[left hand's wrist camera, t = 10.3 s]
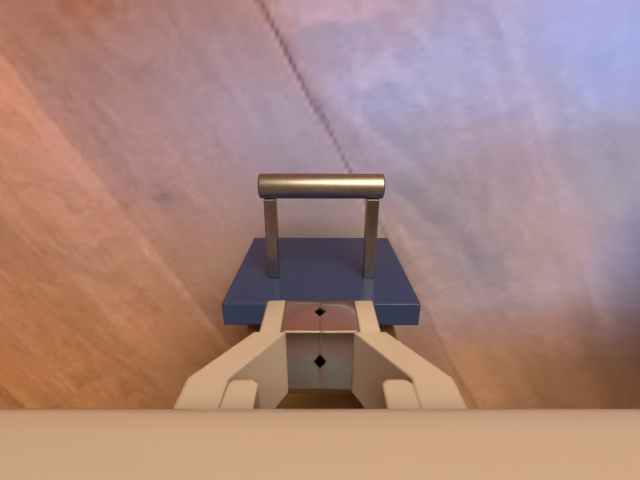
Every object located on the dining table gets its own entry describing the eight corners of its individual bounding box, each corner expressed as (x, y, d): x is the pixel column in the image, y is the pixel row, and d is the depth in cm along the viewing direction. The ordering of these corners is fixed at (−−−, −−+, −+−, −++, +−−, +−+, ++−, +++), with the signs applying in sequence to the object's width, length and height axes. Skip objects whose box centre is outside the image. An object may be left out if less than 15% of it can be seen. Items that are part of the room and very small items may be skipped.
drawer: (249, 157, 23) (208, 186, 15) (393, 157, 23) (434, 187, 15) (265, 390, 30) (243, 500, 22) (376, 391, 30) (397, 501, 22)
